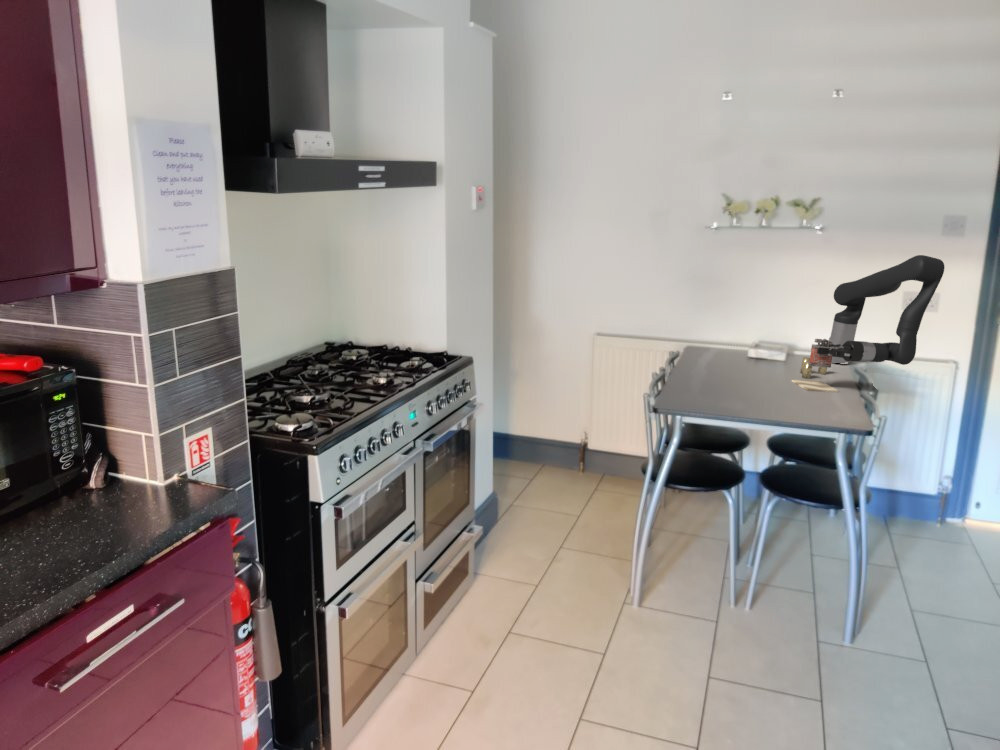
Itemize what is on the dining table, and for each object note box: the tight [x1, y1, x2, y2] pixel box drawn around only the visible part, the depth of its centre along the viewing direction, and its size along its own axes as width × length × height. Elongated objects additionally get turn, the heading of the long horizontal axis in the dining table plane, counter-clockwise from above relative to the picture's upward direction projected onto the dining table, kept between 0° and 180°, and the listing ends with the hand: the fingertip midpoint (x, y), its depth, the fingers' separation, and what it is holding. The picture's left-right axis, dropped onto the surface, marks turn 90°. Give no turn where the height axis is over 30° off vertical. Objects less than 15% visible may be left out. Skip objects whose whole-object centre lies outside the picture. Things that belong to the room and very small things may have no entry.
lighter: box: [808, 338, 834, 369], centre depth 296 cm, size 8×3×10 cm, turn 88°
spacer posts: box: [799, 356, 828, 380], centre depth 316 cm, size 11×14×6 cm
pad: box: [791, 379, 839, 393], centre depth 300 cm, size 12×12×1 cm
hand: (815, 349), depth 296 cm, fingers closed on lighter, 3 cm apart
